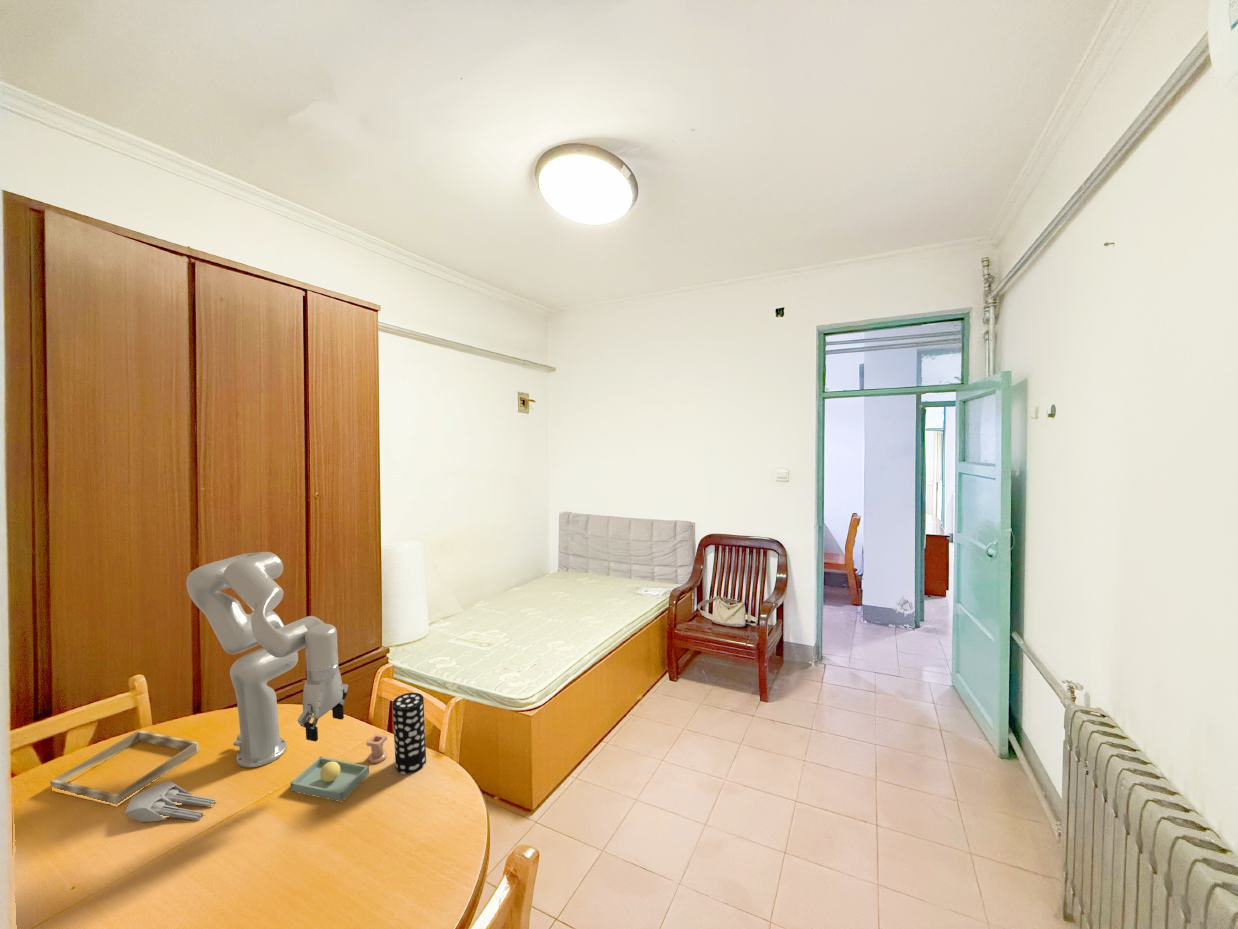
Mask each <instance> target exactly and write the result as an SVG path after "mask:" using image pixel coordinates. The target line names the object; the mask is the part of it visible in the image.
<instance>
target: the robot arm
mask: <svg viewBox="0 0 1238 929" xmlns="http://www.w3.org/2000/svg"><path fill="white" fill-rule="evenodd" d="M283 571H284V564H283V561H282V559H280V557H279V556H278V555H277V554H275V553H273V552H270V551H261V552H248V553H242V554H238V555H235V556H231V557H228V558H227V557H226V558H224V559H220V560H217V561H213V562H209V563H207V564H203V565H201V566H199V567H197V568H195V569H193V570H192V571H191V572H190V573H189V574H188V575H187V577H186V582H185V583H186V584H185V585H186V590H187V593H188V596H189V597H190V599H191V601H192V602H193V603H194V605H195V606H196V607H197V608H198V609H199V610H200V611H201V612H202V613H203V614H204V616H205V617H206V619H207V620H208V623H209V625H210V626H211V628H212V630H213V632H214V634H215V636H216V638H217V640H218V642H219V644H220V645H221V647H222V649H223V650H224V651H225V653H227V654H228V655H237V654H239V653H242V652H245V651H247V650H250V649H252V648H255V647H257V646H259V645H260V646H261V647H262V648H259V649H256V650H254V651H251V652H249V653H248V654H245V655H243V656H241V657H239V658H238V659H237V660H235V661H234V662H233V663H232V665H231V667H230V670H229V676H230V680H231V682H232V683H231V684H232V686H233V688H234V692H235V697H236V698H235V699H236V704H237V712H238V722H239V724H238V725H239V732H240V733H239V734H238V735H237V736H236V740H235V741H233V743H232V745H233V746H234V747H239V751H238V752H237V754H236V757H235V758H236V759H235V760H236V764H237V765H238V766H240V767H241V768H250V769H251V768H257V767H262V766H265V765H267V764H271V763H272V762H274V761H275V760H277V759H278V758H280V757H281V756H282V755H283V754H284V752H286V749H287V748H288V747H287V746H288V745H287V741H286V740H285V739H284V738H283V737H281V736H280V735H281V733H280V724H279V711H278V701H277V694H276V691H275V689H274V688H272V687H271V686H269V685H268V684H267V683H268V682H269V681H271V680H273V679H275V678H277V677H279V676H281V675H282V674H285V673H286V672H288V671H290V670H292V669H293V668H295V666H296V665H297V664H298V662H299V653H298V652H299V651H301V650H303V649H304V648H305V664H306V665H305V666H306V680H305V682H304V686H303V694H302V713H301V714H300V715H299V717H298V719H297V722H298V724H299V725H300V727H302V728H305V739H306V740H307V741H312V742H317V741H318V740H319V734H318V733H319V732H318V731H319V729H318V726H317V724H318V721H319V719H321V717H324V716H325V715H326V714H327V713H329V712H330V711H332V712H331V713H332V718H333V719H336V720H343V719H344V718H345V715H344V713H345V712H344V705H345V703H346V701H345V699H346V697H347V695H348V694H347V692H348V688H349V684H347V683H343V682H342V681H343V680H342V675H341V672H340V669H339V650H338V649H339V648H338V631H337V630H338V629H337V628H336V626H334V625H333V624H330V623H326V622H324V621H322V619H320V618H319V617H317V616H314V615H309V616H305V617H303V618H301V619H298V620H295V621H293V622H290V623H288V624H284V623H283V621H282V619H281V617H280V616H279V615H278V614H277V613H276V612H275V611H274V609H275V608H277V606H279V604H280V603H281V601H282V600H283V598H284V590H283V588H282V587H281V586H280V585H279V584H278V583H277V582H276V581H275V580H276V579H278V578H279V577H281V575H282V574H283ZM230 588H231V589H232V590H233V592H235V594H236V595H238V597H240V598H241V599H242V601H243V602H244V603H245V604H246V605H247V606H248V607H249V608H250V609H251V610H252V612H251V613H249V614H247V613H246V612H245V610H244V608H243V606H242V604H241V602H240V601H239V600H238V599H237V598H235V597H233V596H231V595H229V594H227V593H225V592H222V591H223V590H227V589H230ZM312 718H313V719H312ZM311 719H312V722H311Z"/></svg>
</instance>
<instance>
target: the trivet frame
mask: <svg viewBox="0 0 1238 929" xmlns="http://www.w3.org/2000/svg"><path fill="white" fill-rule="evenodd" d="M138 742H142V743H143V742H144V743H147V744H153V745H157V746H161V747H166V748H171V749H174V750H175V749H176V750H181V751H179V752H178V753H177V754H176V755H174V756H172V757H171V758H169V759H168V760H165V762H163V763H161V764H160V765H158V766H157V767H156V768H154V769H152V770H151V771H149V772H148V773H147V774H145V775H144V776H142V777H140V778H138V779H137V780H136V781H134V782H132V783H131V784H129V785H128V786H126V787H125V788H124V789H122V790H120V791H118V792H117V793H114V792H109V791H104V790H100V789H97V788H93V787H88V786H86V785H85V786H84V785H80V784H76V783H72V782H70V783H68V782H65V781H66V780H68V779H70V778H71V777H73V776H75V775H76V774H78V773H80V772H82V771H84V770H86V769H87V768H89V767H92V766H93V765H95V764H97V763H99V762H101V761H103V760H106V759H108V758H110V757H112V756H113V757H115V756H117V755H118V754H117V753H119V752H120V753H121V751H122V752H123V750H124V751H126V750H127V749H129V748H130V747H132V746H134V745H135V744H137V743H138ZM199 743H200V742H198V741H194V740H190V739H185V738H179V737H175V736H170V735H165V734H161V733H157V732H156V733H154V732H151V731H145V730H137V731H135V732H133V733H131V734H129V735H128V736H127V737H124V738H122V739H121V740H120V741H118V742H115V743H114V744H113V745H111V746H109V747H106V748H105V749H104V750H102V751H100V752H98V753H97V754H94V755H93V756H91V757H89V758H88V759H86V760H85V761H82V762H81V763H79V764H77V765H75V766H74V767H72V768H70V769H69V770H67V771H65V772H64V773H62V774H60V775H58V776H57V777H54V778H53V779H52V780H50V782H49V784H50V788H51V787H54V788H57V789H60V790H64V791H68V792H71V793H75V794H77V795H83V796H87V797H89V798H93V799H97V800H101V801H105V802H109V803H112V804H116V805H117V804H118V803H120V802H121V801H123V800H124V799H126V798H127V797H129V796H130V795H132V794H133V793H135V792H136V791H138V790H140V789H141V788H143V787H145V786H146V785H148V784H149V783H151V782H152V781H153V780H155V779H157V778H158V777H160V776H161V775H163V774H165V773H166V772H168V771H170V770H171V771H173V770H174V769H175V767H176V768H178V766H181V764H183V763H184V762H186V761H187V760H189V759H190V758H191V757H192V758H193V756H195V755H196V754H199V752H200V744H199ZM126 748H127V749H126ZM120 753H119V754H120ZM116 754H117V755H116ZM114 755H115V756H114ZM113 757H112V758H113ZM110 759H111V758H110ZM108 760H109V759H108ZM173 768H174V769H173ZM172 769H173V770H172ZM171 771H170V772H171ZM168 773H169V772H168ZM165 775H166V774H165Z"/></svg>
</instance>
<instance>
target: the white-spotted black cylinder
mask: <svg viewBox="0 0 1238 929" xmlns="http://www.w3.org/2000/svg"><path fill="white" fill-rule="evenodd" d="M424 698H425V697H424V696H423V694H421V693H419V692H406V693H404V694H400V695H398V696H396V698H394V699H393V701H392V719H393V720H392V723H393V741H394V742H393V745H394V760H395V762H394V764H395V770H396V771H397V772H398V773H400V774H402V775H410V774H415V773H417V772H419V771H420V770H422V769H423V768H424V767H425V765H426V763H427V748H426V727H425V724H426V723H425V702H424Z"/></svg>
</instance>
